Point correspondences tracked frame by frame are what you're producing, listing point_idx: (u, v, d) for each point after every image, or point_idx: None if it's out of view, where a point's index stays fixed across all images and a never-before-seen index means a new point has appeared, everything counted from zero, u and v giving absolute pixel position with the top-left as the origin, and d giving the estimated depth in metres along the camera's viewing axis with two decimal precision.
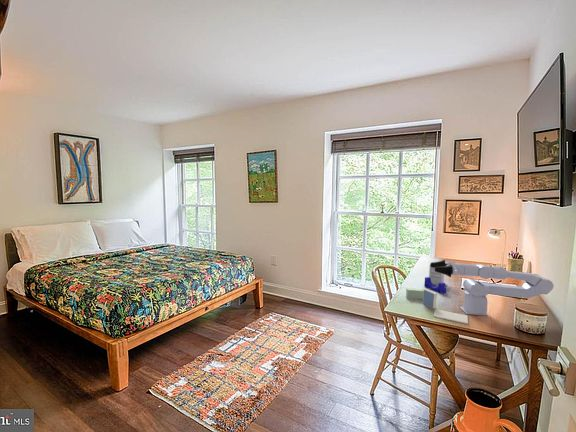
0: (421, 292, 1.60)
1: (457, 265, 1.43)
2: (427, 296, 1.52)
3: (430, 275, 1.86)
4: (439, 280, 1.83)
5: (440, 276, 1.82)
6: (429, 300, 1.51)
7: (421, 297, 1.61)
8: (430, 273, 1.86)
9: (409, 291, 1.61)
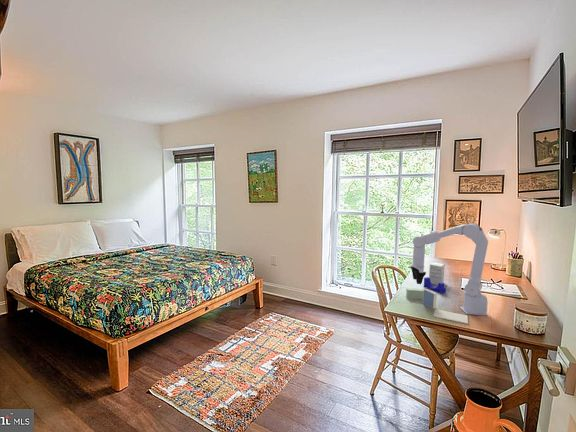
0: (421, 292, 1.60)
1: (414, 263, 1.59)
2: (427, 296, 1.52)
3: (430, 275, 1.86)
4: (439, 280, 1.83)
5: (440, 276, 1.82)
6: (429, 300, 1.51)
7: (421, 297, 1.61)
8: (430, 273, 1.86)
9: (409, 291, 1.61)
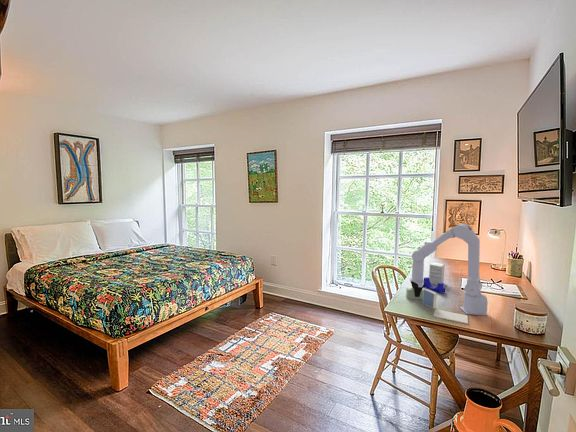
0: (421, 292, 1.60)
1: (413, 277, 1.60)
2: (427, 296, 1.52)
3: (430, 275, 1.86)
4: (439, 280, 1.83)
5: (440, 276, 1.82)
6: (429, 300, 1.51)
7: (421, 297, 1.60)
8: (430, 273, 1.86)
9: (409, 291, 1.61)
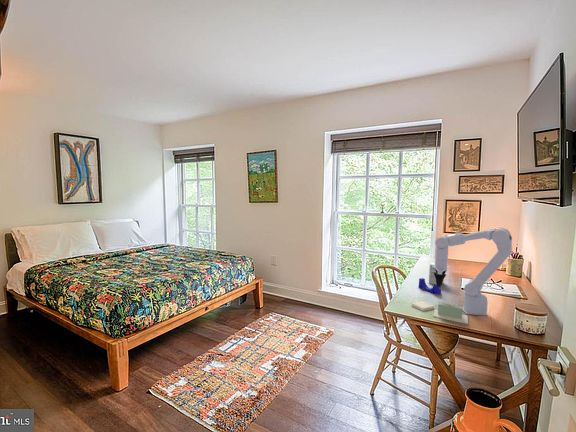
0: (455, 309, 1.37)
1: (435, 264, 1.53)
2: None
3: (430, 275, 1.86)
4: None
5: None
6: None
7: (455, 315, 1.37)
8: (430, 273, 1.86)
9: (440, 306, 1.40)
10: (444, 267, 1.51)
